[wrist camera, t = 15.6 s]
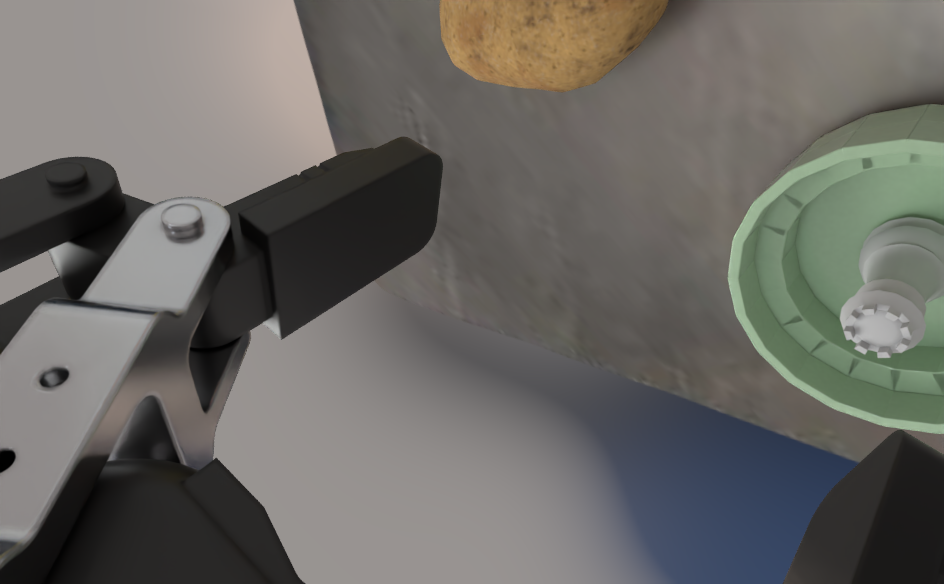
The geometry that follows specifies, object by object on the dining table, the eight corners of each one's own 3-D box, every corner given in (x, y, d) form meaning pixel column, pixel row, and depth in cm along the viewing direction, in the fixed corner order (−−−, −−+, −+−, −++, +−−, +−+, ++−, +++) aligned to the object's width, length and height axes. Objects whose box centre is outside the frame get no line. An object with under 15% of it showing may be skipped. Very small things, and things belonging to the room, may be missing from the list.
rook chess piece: (968, 211, 30) (937, 291, 25) (968, 293, 31) (940, 383, 27) (860, 214, 33) (814, 286, 28) (866, 289, 35) (823, 369, 30)
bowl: (852, 51, 30) (819, 82, 27) (1242, 197, 24) (1261, 260, 21) (722, 278, 41) (686, 321, 37) (972, 418, 35) (956, 484, 31)
